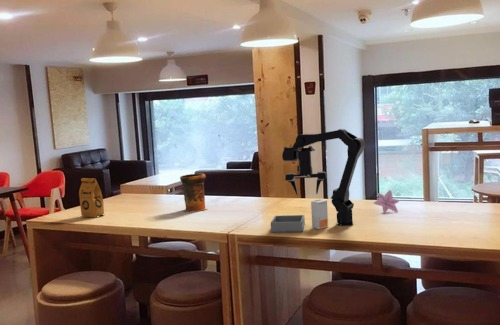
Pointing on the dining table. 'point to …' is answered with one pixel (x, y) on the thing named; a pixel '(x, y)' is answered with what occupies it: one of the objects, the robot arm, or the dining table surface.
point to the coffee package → (91, 198)
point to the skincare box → (319, 214)
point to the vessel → (194, 192)
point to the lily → (387, 202)
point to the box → (287, 223)
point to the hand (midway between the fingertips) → (306, 194)
